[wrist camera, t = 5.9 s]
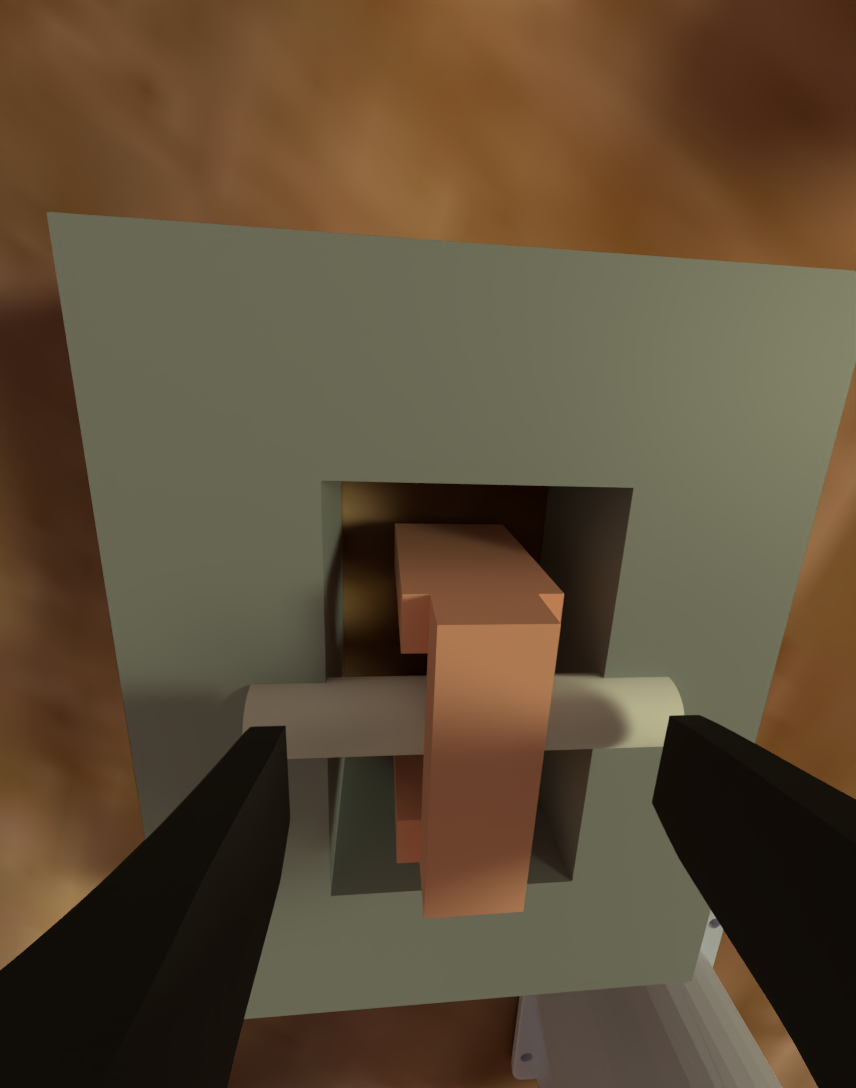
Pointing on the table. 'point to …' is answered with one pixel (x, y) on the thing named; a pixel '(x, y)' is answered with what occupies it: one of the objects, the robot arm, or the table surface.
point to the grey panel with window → (452, 458)
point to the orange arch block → (474, 712)
